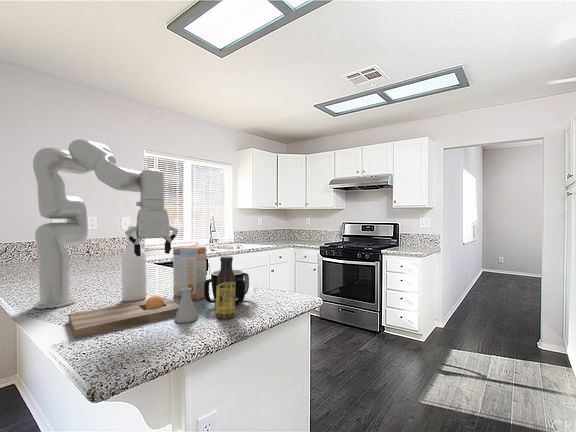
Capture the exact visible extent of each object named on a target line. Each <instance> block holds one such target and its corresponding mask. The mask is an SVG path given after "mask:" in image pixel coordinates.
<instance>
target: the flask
mask: <svg viewBox="0 0 576 432" xmlns="http://www.w3.org/2000/svg"><path fill="white" fill-rule="evenodd" d="M180 291H181V293H182V296H181V298H180V303H179V304H178V305H179V308H178V311H177V314H176V316H174V320H173V322H174V323H178V324H187V323H189V322H190V323H192V322H194V321H197V320H198V318H199V315H198V313H197V310H196V308H195V306H194V303H193V300H191V295H190V291H191V288H183V289H181V290H180ZM190 323H189V324H190Z"/></svg>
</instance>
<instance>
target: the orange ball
mask: <svg viewBox="0 0 576 432" xmlns="http://www.w3.org/2000/svg"><path fill="white" fill-rule="evenodd" d="M162 297H163V296H161V295H158V294H156V295H151V296H149V297H148V298H147V299H146V300H147V301H146V305H145V306H146V309H147V310H149V309H154V308H159V307H164V300H163V298H162Z"/></svg>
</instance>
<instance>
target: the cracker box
mask: <svg viewBox="0 0 576 432" xmlns="http://www.w3.org/2000/svg"><path fill="white" fill-rule="evenodd" d="M172 251H173V252H172V255H173V256H172V259H173V260H172V261H173V262H172V265H173V266H172V268H173V297H175V298H180V299H181V296H182V293H181V291H180V290H181V289H183V288H191V291H190V295H191V300H192V301H199V300H203V299H205V296H204V283H205V281H206V280H207V247H206V246H203V247H202V246H192V245H190V246H189V245H181V246H173V247H172Z"/></svg>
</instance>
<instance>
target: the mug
mask: <svg viewBox="0 0 576 432" xmlns="http://www.w3.org/2000/svg"><path fill="white" fill-rule="evenodd" d="M220 270H221V269H220ZM220 270H216V271H213V272H211V274H210V278H209V279H208V278H207V279H206V281H205V283H204V296H205V298H204V299H205V300H206V302H207V303H208V304H214V303H215V304H216V285H217V276H218V274H219V272H220ZM232 271H233V273H234V275H235V306H236V305H239V304H240V303H243V301H244V299H245V297H246V296H245V295H247V293H248V290H249V287H250V278H249V277H250V276H249V274H248V273H246V272H244V270H241V269H232ZM210 283H211V288H212V295H213V298H212V299H211V297H210Z"/></svg>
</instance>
